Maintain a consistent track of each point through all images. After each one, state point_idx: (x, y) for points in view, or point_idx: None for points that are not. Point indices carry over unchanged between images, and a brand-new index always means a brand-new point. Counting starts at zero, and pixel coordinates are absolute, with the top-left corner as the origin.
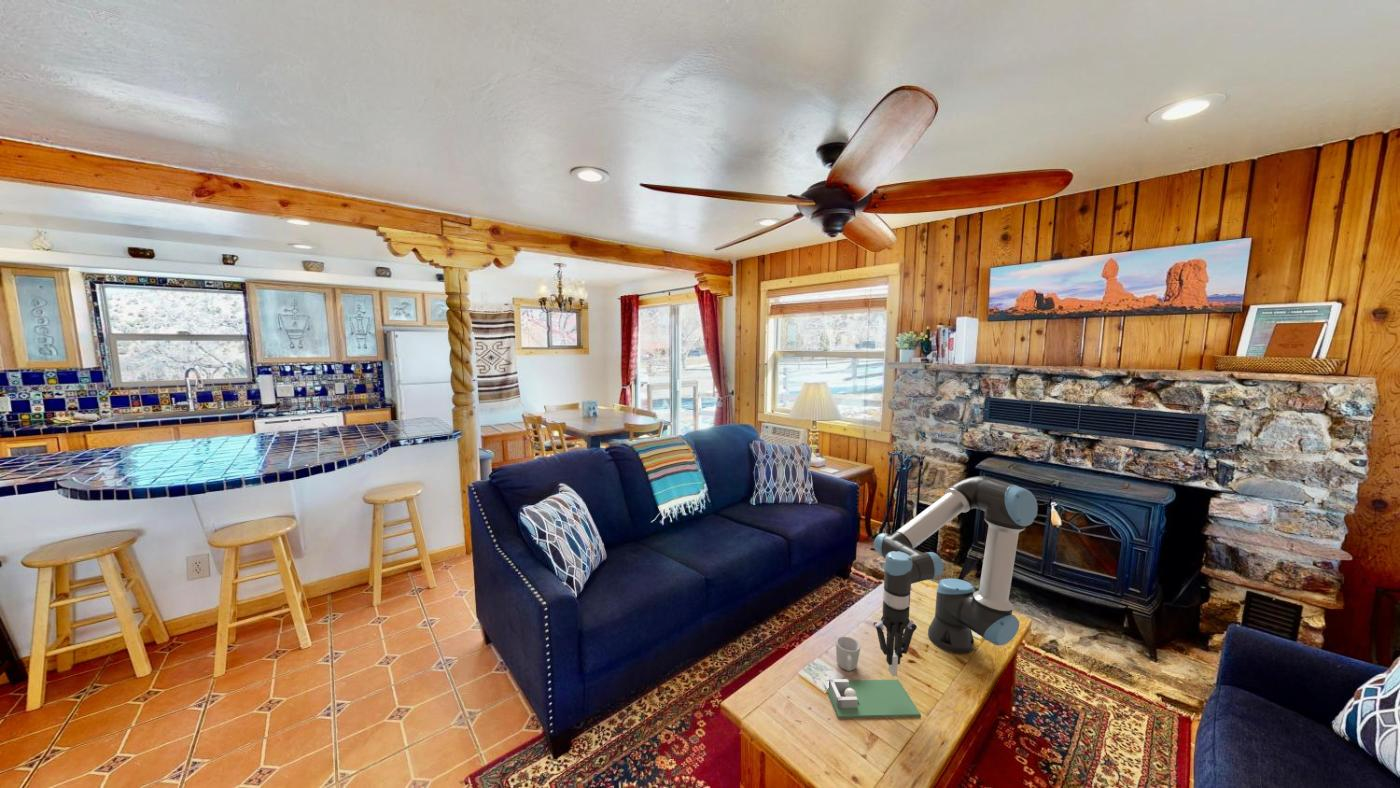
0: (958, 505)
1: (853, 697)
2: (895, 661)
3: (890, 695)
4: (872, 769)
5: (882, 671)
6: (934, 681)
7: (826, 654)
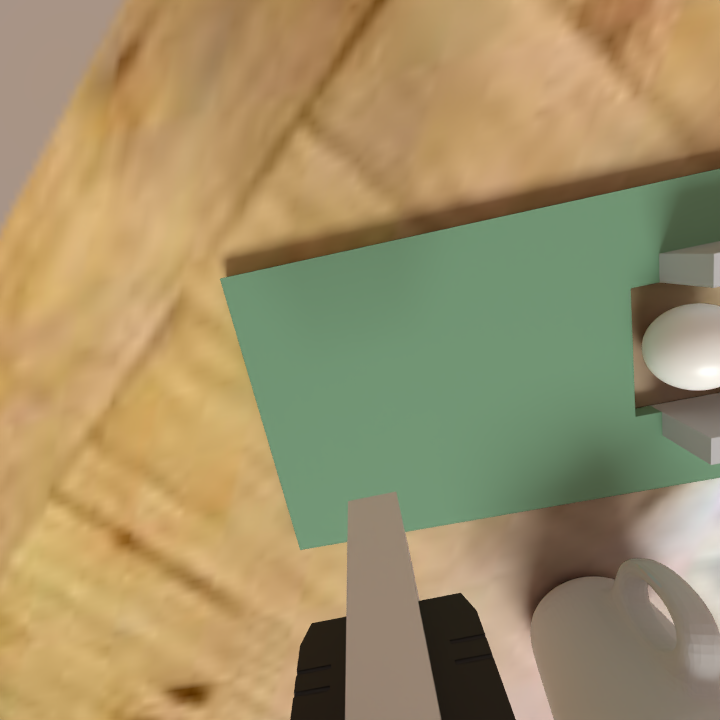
0: None
1: None
2: (384, 652)
3: (386, 409)
4: None
5: None
6: (87, 574)
7: None
